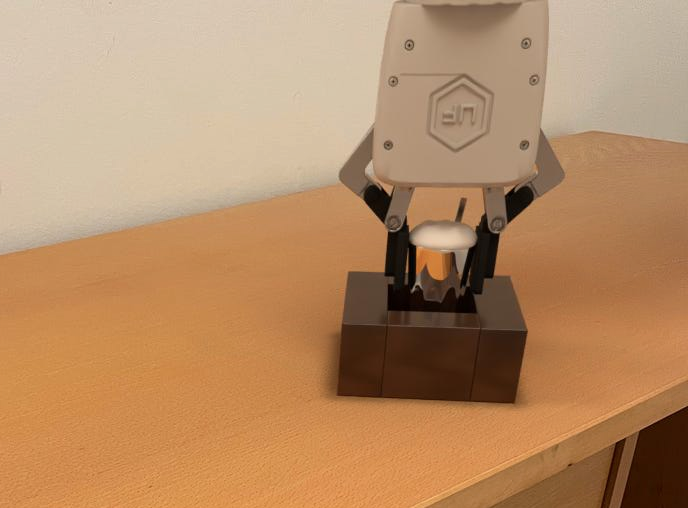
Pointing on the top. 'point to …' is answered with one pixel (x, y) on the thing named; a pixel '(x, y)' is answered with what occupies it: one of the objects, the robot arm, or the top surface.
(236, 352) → the top surface
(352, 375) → the holder
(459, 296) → the milkshake
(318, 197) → the top surface
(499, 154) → the robot arm
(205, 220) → the top surface
